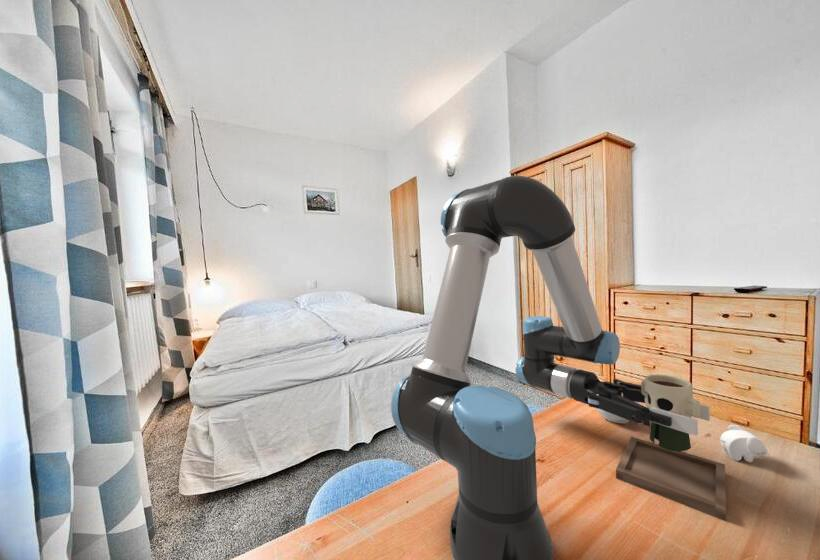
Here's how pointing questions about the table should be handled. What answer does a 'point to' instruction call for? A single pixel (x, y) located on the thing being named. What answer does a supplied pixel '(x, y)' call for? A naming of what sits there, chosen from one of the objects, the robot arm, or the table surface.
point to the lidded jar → (613, 416)
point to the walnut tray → (675, 476)
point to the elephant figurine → (741, 444)
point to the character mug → (670, 408)
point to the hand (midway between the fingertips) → (703, 420)
